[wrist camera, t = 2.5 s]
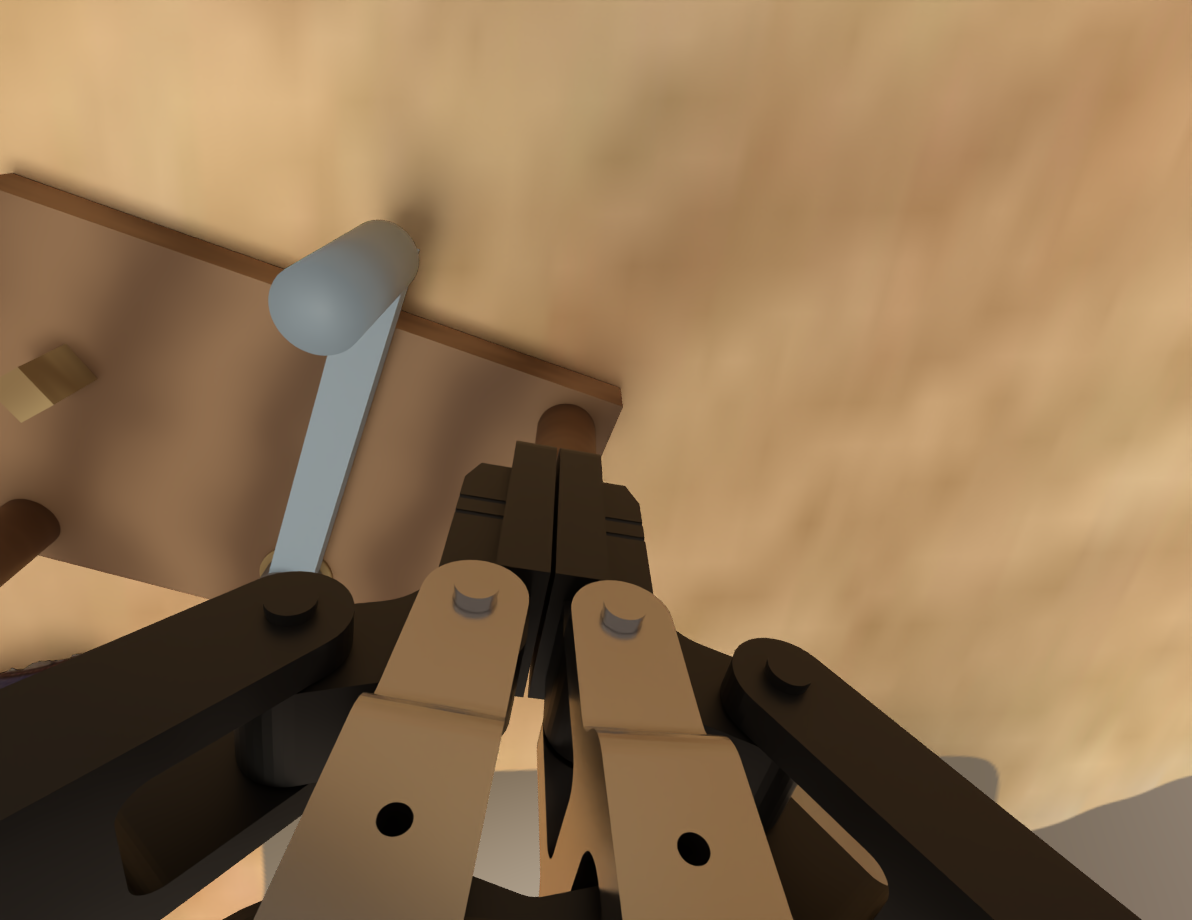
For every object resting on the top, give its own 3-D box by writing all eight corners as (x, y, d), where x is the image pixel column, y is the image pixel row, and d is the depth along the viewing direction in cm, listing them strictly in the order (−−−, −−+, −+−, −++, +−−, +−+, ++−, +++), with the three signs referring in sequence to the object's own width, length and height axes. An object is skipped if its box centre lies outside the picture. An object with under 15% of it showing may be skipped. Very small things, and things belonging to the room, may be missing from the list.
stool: (620, 388, 29) (637, 515, 20) (508, 647, 36) (485, 824, 27) (11, 173, 24) (-307, 216, 16) (20, 517, 32) (-197, 679, 23)
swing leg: (317, 607, 32) (245, 746, 25) (260, 590, 31) (171, 728, 24) (437, 233, 24) (379, 288, 17) (364, 201, 23) (274, 244, 16)
